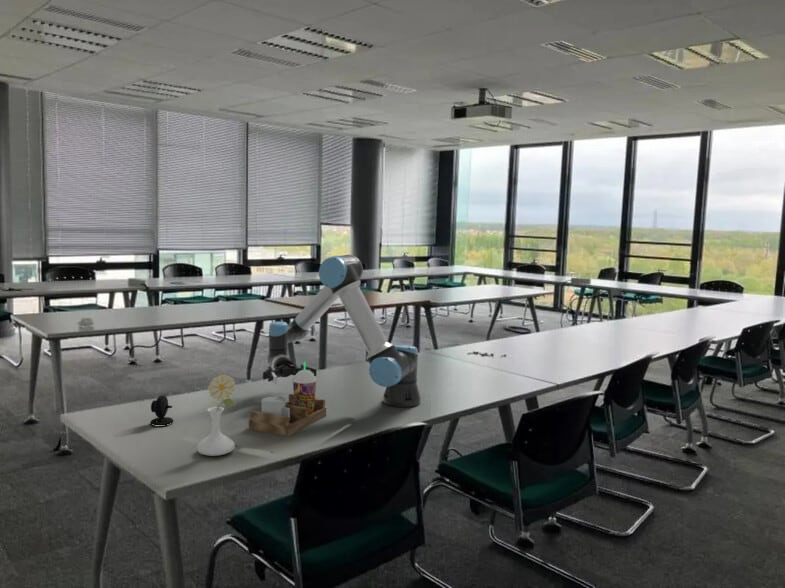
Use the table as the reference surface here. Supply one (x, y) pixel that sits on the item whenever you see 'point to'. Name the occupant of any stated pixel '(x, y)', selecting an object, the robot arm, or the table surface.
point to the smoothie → (304, 389)
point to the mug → (275, 406)
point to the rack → (287, 418)
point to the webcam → (161, 411)
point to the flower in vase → (218, 418)
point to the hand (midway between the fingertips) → (294, 379)
